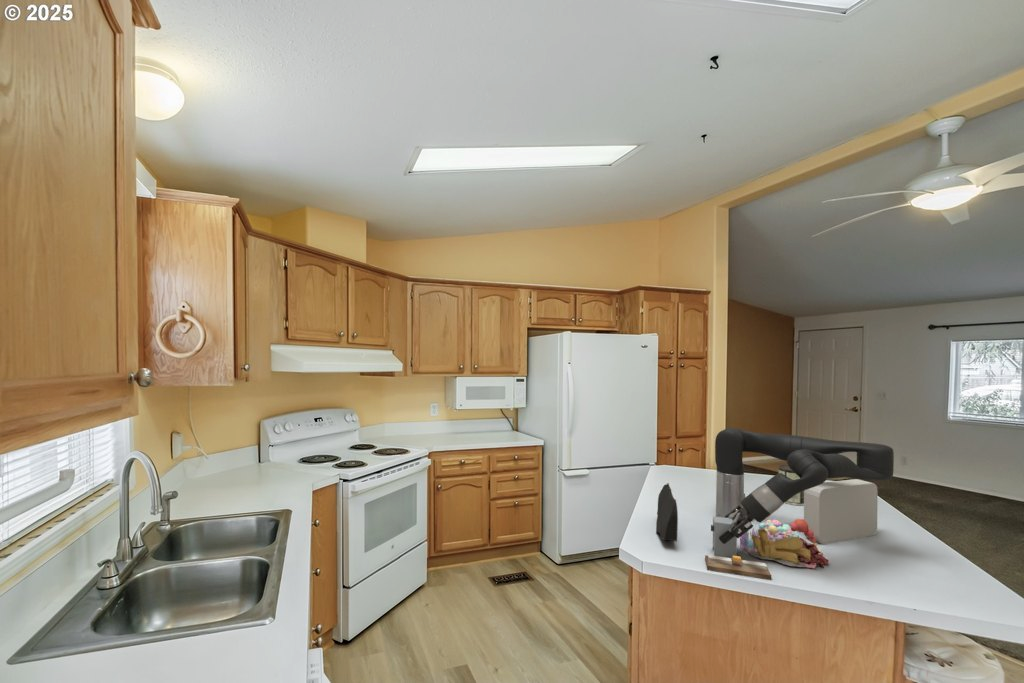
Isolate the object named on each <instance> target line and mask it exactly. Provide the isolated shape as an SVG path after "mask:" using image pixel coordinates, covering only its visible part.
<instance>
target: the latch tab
mask: <svg viewBox="0 0 1024 683" xmlns="http://www.w3.org/2000/svg"><path fill="white" fill-rule="evenodd" d="M732 559H733V561H736V562H741V561H742V558H741V556H738V555H737V556H733V558H732Z"/></svg>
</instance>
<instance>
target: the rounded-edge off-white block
mask: <svg viewBox="0 0 1024 683" xmlns="http://www.w3.org/2000/svg"><path fill="white" fill-rule="evenodd" d="M878 495H879V494H878V486H877V485H876V484H875V483H874V482H870V481H866V480H864V479H855V478H851V479H846V480H844V479H843V480H836V481H825V482H824V483H822V484H820V485H818V486H815V487H812V488H810V489H807V490H805V491H804V505H803V520H805V521H806V522H807V524H808V529H811V530H812V531H813V533H814V536H813V537H815V538H816V543H820V544H823V545H826V544H833V543H837V542H843V541H849V540H855V539H860V538H866V537H871V536H874V535H875V534H876V532H877V530H878ZM806 538H807V539H809V538H808V537H806Z"/></svg>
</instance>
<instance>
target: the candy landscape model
mask: <svg viewBox="0 0 1024 683" xmlns="http://www.w3.org/2000/svg"><path fill="white" fill-rule="evenodd" d="M798 532H799V533H803V535H804V537H806V538H807V537H808V538H807V539H808V540H809V542H807V541H806V540H805V539H804V538H802V537H800V534H799V533H798ZM813 536H814V533H813V531H812V530H811V529H808V524H807V522H806V521H805V520H804V518H797V519H795V520H794V521H793V522H790V523H789V524H787V523H784V524H782V523H781V522H780V521H779V520H778V519H772V520H771V519H767V520H766V521H765V522H761V523H760V524H758V529H756V530H755V527H753V529H752V531H750V530H748V531H747V532H746V533H745V534H743V535H742V536H741V537H740V538H739V547H740V549H743V550H745V551H747V552H748V553H749V554H750V555H751V556H752V557H756V558H758V559H761V560H768V561H776V562H777V563H780V564H782V565H786V566H789V567H798V568H809V569H816V568H817V567H820V568H822V569H825V567H824V564H825V565H827V566H829V562H830V561H829V559H828V558H826V557H825V556H824V552H823V550H822V549H821V548H820V547H819V546H818V544H817V541H816V538H815V537H813Z"/></svg>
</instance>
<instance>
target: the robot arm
mask: <svg viewBox="0 0 1024 683" xmlns="http://www.w3.org/2000/svg"><path fill="white" fill-rule="evenodd" d="M714 441H715V442H714V454H715V455H714V462H715V465H716V491H715V492H716V494H715V495H716V496H715V498H716V499H715V502H716V503H715V517H723V518H731V519H732V520H733V522H732V523H731V525H732V526H731V527H730V528H729V530H727V531H726V532H725V533H723V534H722V535H721V536H720V537H719V540H720V541H721V542H722V543H723V544H725V543H727V542H728V541H729V540H731V539H732V538H733V537H736V538H737V539H740V537H741V536H742V535H743V534H745V533H746V532H747V531H750V530H751V529H752V528H754V524H752V522H753V521H754V520H755V521H756V522H757V523H760V524H761V523H763V522H764V521H765V520H766V519H767V518H769V517H770V516H771V515H773V514H774V513H775V512H777V511H778V510H779V509H780V508H781V507H782V506H783V505H784V504H786V503H785V502H786V501H788V500H789V499H790V498H791V497H793V496H794V495H796V494H798V493H800V492H802V491H805V490H807V489H810V488H812V487H815V486H818V485H820V484H822V483H824V482H827V479H839V478H840V479H841V478H847V479H848V478H849V479H859V480H870V481H889V480H891V479H892V478H893V476H894V466H895V464H894V458H895V456H894V455H895V454H894V453H895V452H894V449H893V448H892V447H891V446H889V445H886V444H882V443H881V444H880V443H874V442H873V443H872V442H861V441H845V440H834V439H823V438H817V437H810V436H802V435H794V434H783V433H782V434H781V433H761V432H756V431H749V430H745V429H741V428H736V427H727V428H725V429H722V430H721V431H719V432H718V433H717V434H716V436H715V440H714ZM853 452H855V453H856V462H854V461H853V460H851V458H849V457H848V456H845V455H843V453H853ZM743 453H756V454H762V455H767V456H768V457H772V458H774V459H778V460H781V461H785V462H786V463H787V464H786V465H788V466H789V467H790V469H791V470H792V471H793V472H794V473H796V474H797V475H798V476H799V477H800V479H796V480H792V479H790V478H788V477H787V476H785V475H784V474H782V473H776V474H775V475H773V476H772V477H771V478H769V480H767V481H766V482H764V483H763V484H762V485H759V486H758V487H756V488H755V489H754V490H753V491H752V492H750V493H749V494H748V495H747V496H746V494H745V490H744V489H745V466H744V462H743ZM736 530H737V531H736Z"/></svg>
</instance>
